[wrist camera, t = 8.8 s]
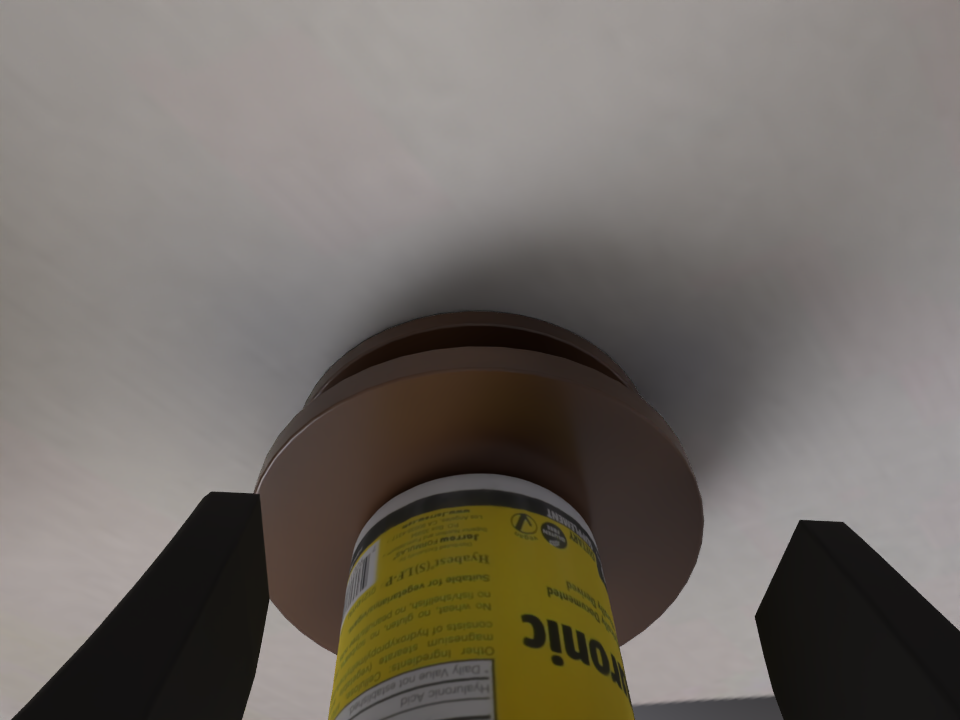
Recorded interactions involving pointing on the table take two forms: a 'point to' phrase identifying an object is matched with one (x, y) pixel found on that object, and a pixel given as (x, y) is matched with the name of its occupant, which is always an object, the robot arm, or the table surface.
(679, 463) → the stand
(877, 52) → the table surface
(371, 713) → the supplement bottle
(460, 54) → the table surface
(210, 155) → the table surface
